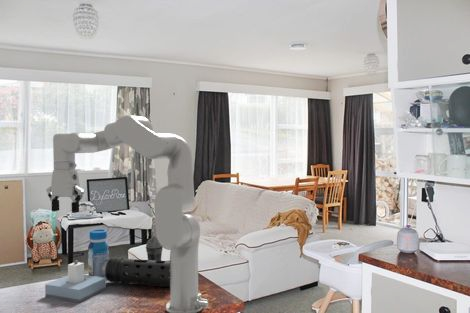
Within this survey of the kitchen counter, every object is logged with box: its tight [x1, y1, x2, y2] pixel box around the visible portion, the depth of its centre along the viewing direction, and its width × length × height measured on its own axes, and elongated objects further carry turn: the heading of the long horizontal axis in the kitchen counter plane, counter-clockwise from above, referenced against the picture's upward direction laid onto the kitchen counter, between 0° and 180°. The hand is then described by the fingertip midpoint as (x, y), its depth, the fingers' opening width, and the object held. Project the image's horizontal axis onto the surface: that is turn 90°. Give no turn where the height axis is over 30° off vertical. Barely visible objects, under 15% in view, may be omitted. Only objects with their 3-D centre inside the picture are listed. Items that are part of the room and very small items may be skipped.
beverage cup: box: [145, 226, 164, 261], centre depth 177 cm, size 7×7×20 cm
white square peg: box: [67, 259, 85, 284], centre depth 154 cm, size 4×4×11 cm
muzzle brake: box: [102, 257, 170, 288], centre depth 163 cm, size 10×28×10 cm, turn 78°
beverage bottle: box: [87, 229, 110, 277], centre depth 170 cm, size 8×8×20 cm
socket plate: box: [44, 274, 107, 304], centre depth 155 cm, size 16×14×4 cm
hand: (65, 211), depth 155 cm, fingers open, 9 cm apart
